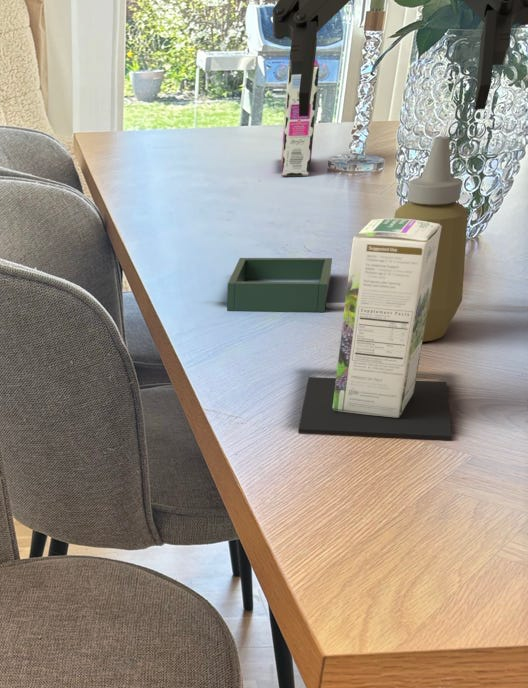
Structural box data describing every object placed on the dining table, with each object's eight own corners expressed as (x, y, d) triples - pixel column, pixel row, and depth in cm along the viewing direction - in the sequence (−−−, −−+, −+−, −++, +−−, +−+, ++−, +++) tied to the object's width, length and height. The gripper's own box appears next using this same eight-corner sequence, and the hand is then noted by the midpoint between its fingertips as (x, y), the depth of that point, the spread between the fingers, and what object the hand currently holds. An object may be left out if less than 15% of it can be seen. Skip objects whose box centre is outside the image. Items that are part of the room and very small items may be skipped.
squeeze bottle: (355, 337, 101) (377, 141, 90) (399, 317, 105) (425, 128, 94) (428, 353, 95) (460, 148, 85) (471, 331, 100) (507, 133, 89)
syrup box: (348, 388, 89) (367, 216, 80) (416, 395, 86) (443, 219, 78) (331, 411, 85) (349, 233, 76) (402, 420, 82) (429, 237, 74)
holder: (329, 284, 116) (332, 258, 114) (324, 312, 108) (327, 284, 106) (238, 283, 119) (239, 257, 117) (226, 310, 111) (227, 283, 109)
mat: (445, 385, 89) (446, 381, 88) (451, 440, 79) (452, 436, 79) (308, 381, 92) (308, 376, 92) (298, 433, 82) (298, 428, 82)
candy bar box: (311, 176, 167) (320, 64, 157) (281, 177, 168) (288, 66, 158) (309, 163, 176) (317, 57, 166) (280, 165, 177) (287, 59, 167)
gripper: (568, -103, 82) (550, 127, 79) (263, -76, 89) (236, 137, 86) (593, -191, 75) (575, 57, 72) (260, -154, 82) (230, 75, 79)
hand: (391, 101), depth 79 cm, fingers open, 13 cm apart
